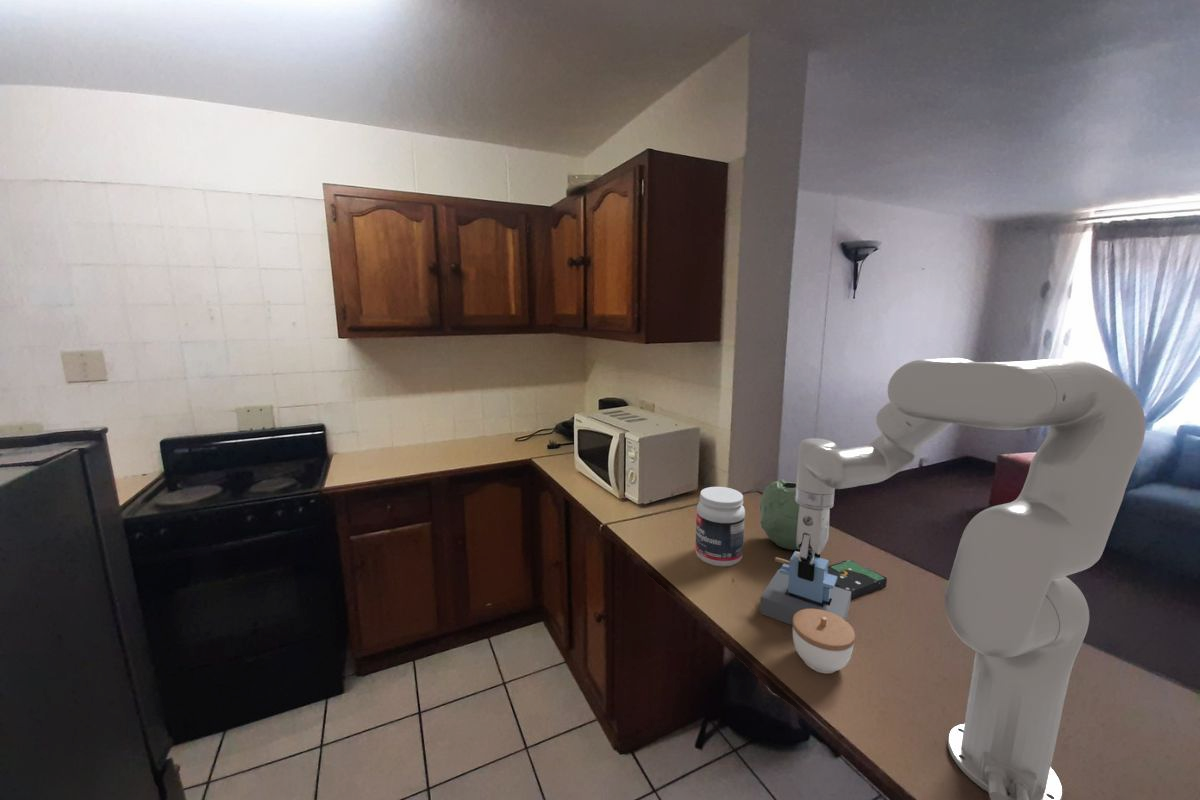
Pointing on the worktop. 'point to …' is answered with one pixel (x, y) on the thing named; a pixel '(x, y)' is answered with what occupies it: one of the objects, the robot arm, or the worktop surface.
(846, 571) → the disk drive
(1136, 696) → the worktop surface
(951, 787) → the worktop surface
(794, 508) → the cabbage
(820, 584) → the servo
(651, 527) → the worktop surface
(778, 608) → the plate
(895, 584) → the worktop surface
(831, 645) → the lidded jar
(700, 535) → the supplement tub
